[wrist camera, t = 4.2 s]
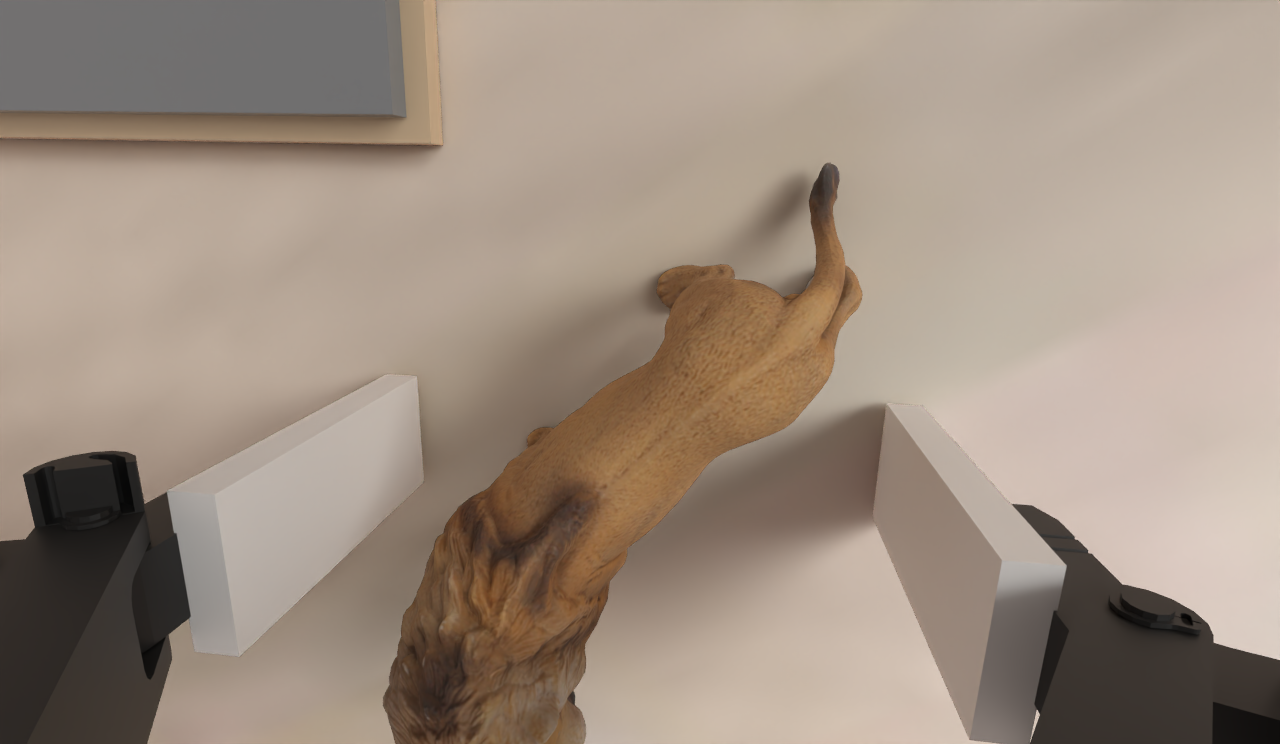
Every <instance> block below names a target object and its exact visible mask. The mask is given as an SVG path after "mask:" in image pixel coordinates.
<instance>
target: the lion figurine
mask: <svg viewBox="0 0 1280 744" xmlns="http://www.w3.org/2000/svg"><path fill="white" fill-rule="evenodd" d="M838 184H839V171H838V168H837V167H836V166H835V165H833V164H831V163H826V164H825V165H824V166H823V168H822V170H821V172H820V174H819V177H818V178H817V180H816V181H815V183H814V186H813V189H812V191H811V195H810V199H809V206H810V212H811V225H812V229H813V233H814V239H815V244H816V267H815V272H814V276H813V278H812V279H811V280H810V281H809V283H808V284H807V286H806V290H805V291H804V292H803V293H801V294H790V295H788V296H786V297H784V298H783V297H781V296H780V295H779V294H778V293H777V292H776V291H774V290H773V289H771V288H769V287H767V286H766V285H763V284H760V283H757V282H754V281H747V280H736V279H734V277H735V274H734V271H733V269H732V268H731V267H730V266H729V265H722V264H720V265H716V266H705V267H700V266H694V265H686V266H679V267H675V268H672V269H670V270H668V271H666V272H664V273H663V274H662V275H661V276H660V278H659V280H658V286H657V294H658V296H659V298H660V299H661V301H662V303H664V304H665V305H666V306H667V307H668V308H669V309H670V310H671V311H670V315H669V318H668V320H667V322H666V325H665V339H664V341H663V343H662V344H661V346H660V348H659V350H658V351H657V353H656V355H655V356H654V357H653V359H652V360H651V361H650V362H648V363H647V364H645V365H644V366H642V367H640V368H638V369H636V370H634V371H632V372H630V373H628V374H626V375H624V376H622V377H621V378H619V379H617V380H615V381H613V382H612V383H610V384H609V385H607V386H606V387H604V388H603V389H601V390H600V391H599V392H598V393H596V394H595V395H594V396H593V397H592V398H591V399H590V400H589V401H588V402H587V403H586V404H585V405H584V406H583V407H581V408H580V409H578V410H577V411H575V412H573V413H572V414H571V415H570V416H568V417H567V418H566V419H565V420H563V421H562V422H561V423H560V424H559V425H558V426H556V427H555V428H548V427H543V428H538V429H536V430H534V431H533V432H532V433H531V434H530V435H529V436H528V438H527V443H528V448H527V449H526V450H524V451H523V452H522V453H521V454H520V455H519V456H518V457H516V458H514V459H513V460H512V461H510V462H509V463H508V465H507V466H506V468H505V469H504V471H503V473H502V474H501V475H500V476H499V477H498V478H497V479H496V480H495V481H494V483H493V484H492V485H491V486H490V487H489V488H488V489H487V490H485V491H483V492H480V493H478V494H476V495H474V496H472V497H471V498H469V499H468V500H467V501H466V502H464V503H463V504H462V505H461V506H459V507H458V509H457V511H456V512H455V513H454V514H453V515H452V517H451V518H450V519H449V521H448V522H447V524H446V526H445V529H444V533H443V534H442V535H440V536H438V538H437V539H436V541H435V544H434V550H433V551H432V553H431V555H430V558H429V560H428V562H427V565H426V569H425V575H424V577H423V580H422V583H421V585H420V587H419V589H418V591H417V595H416V597H415V599H414V601H413V604H412V605H411V606H410V607H409V608H408V609H407V610H406V612H405V614H404V615H403V621H402V627H401V636H402V637H401V639H400V642H399V645H398V651H397V655H398V656H397V657H396V658H395V660H394V662H393V664H392V667H391V672H390V676H389V681H390V685H389V687H388V689H387V691H386V692H385V695H384V697H383V707H384V709H385V711H386V713H387V714H388V719H389V723H390V726H391V729H392V732H393V736H394V740H395V743H396V744H584V741H585V737H586V725H585V720H584V718H583V715H582V712H581V711H580V709H579V708H578V707H576V706H575V694H574V689H575V687H576V686H577V685H578V683H579V682H580V680H581V678H582V676H583V674H584V673H585V668H586V656H585V643H586V642H587V640H588V638H589V637H590V635H591V633H592V631H593V629H594V628H595V626H596V625H597V622H598V620H599V617H600V615H601V613H602V611H603V609H604V606H605V604H606V602H607V599H608V591H609V582H610V580H611V579H612V578H613V577H614V575H615V574H616V573H617V572H618V571H619V569H620V568H621V567H622V566H623V565H624V563H625V561H626V557H627V548H628V547H629V546H631V545H632V544H633V543H635V542H636V541H637V540H639V539H640V538H641V537H643V536H644V535H645V534H646V533H648V532H649V531H650V530H651V529H652V528H653V527H655V526H656V525H657V524H658V523H659V522H660V521H661V520H662V519H663V518H664V517H665V516H666V514H667V513H668V512H669V511H670V510H671V509H672V508H673V507H674V506H675V505H676V504H677V503H678V502H679V500H680V499H681V498H682V497H683V495H684V494H685V493H686V492H687V490H688V489H689V488H690V487H691V485H692V484H693V483H694V481H695V480H696V479H697V478H698V476H699V475H700V474H701V472H702V471H703V469H704V468H705V467H706V466H707V465H708V464H709V463H710V462H711V461H712V460H713V459H714V458H716V457H717V456H719V455H721V454H722V453H725V452H727V451H729V450H731V449H734V448H737V447H739V446H742V445H745V444H747V443H750V442H753V441H756V440H758V439H761V438H764V437H766V436H769V435H771V434H774V433H776V432H778V431H780V430H782V429H784V428H786V427H787V426H788V425H790V424H791V423H792V422H793V421H794V420H795V419H796V418H797V417H798V416H799V415H800V413H801V412H802V411H803V410H804V409H805V408H806V406H807V405H808V404H809V403H810V402H811V401H812V400H813V398H814V397H815V396H816V395H817V394H818V392H819V391H820V390H821V389H822V387H823V386H824V384H825V383H826V382H827V380H828V378H829V376H830V374H831V372H832V368H833V364H834V349H835V345H836V341H837V337H838V333H839V331H840V329H841V327H842V326H843V325H844V323H845V322H846V320H847V319H848V318H849V316H851V315H852V314H853V313H854V312H855V311H856V310H857V309H858V307H859V305H860V302H861V300H862V290H861V288H860V285H859V282H858V279H857V277H856V275H855V274H854V272H853V271H852V270H851V269H850V268H849V267H847V266H846V265H845V260H844V252H843V249H842V247H841V244H840V242H839V240H838V237H837V233H836V229H835V224H834V218H833V205H834V203H835V201H836V199H837V188H838Z"/></svg>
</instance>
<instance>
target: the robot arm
mask: <svg viewBox="0 0 1280 744" xmlns="http://www.w3.org/2000/svg"><path fill="white" fill-rule="evenodd" d="M23 477H24V482H25V486H26V490H27V494H28V499H29V503H30V507H31V512H32V516H33V520H34V525H35V528H34V529H33V531H32V532H31V533H30V534H29V536H28V537H27V538H26V539H25V540H11V541H0V744H147V742H148V739H149V735H150V732H151V728H152V725H153V722H154V718H155V715H156V711H157V708H158V705H159V701H160V698H161V694H162V691H163V688H164V684H165V681H166V678H167V674H168V671H169V667H170V664H171V661H172V653H171V646H170V641H169V635H168V634H169V633H171V632H172V631H173V630H175V629H176V628H177V627H178V626H180V625H181V624H182V623H183V622H185V621H186V620H187V619H189V622H190V628H191V634H192V640H193V645H194V651H195V652H200V653H209V654H218V655H227V656H235V657H240V656H241V655H242V654H243V653H244V652H245V651H246V650H247V649H248V648H249V647H251V646H252V645H253V644H254V643H255V642H256V641H257V640H258V639H259V638H260V637H261V636H262V635H263V634H264V633H265V632H266V631H267V630H268V629H270V628H271V627H272V626H273V625H274V624H275V623H276V622H277V621H278V620H279V619H280V618H281V617H282V616H283V615H284V614H285V613H286V612H287V611H288V610H290V609H291V608H292V607H293V606H294V605H295V604H296V603H297V602H298V601H299V600H300V599H301V598H302V597H303V596H304V595H305V594H306V593H307V592H309V591H310V590H311V589H312V588H313V587H314V586H315V585H316V584H317V583H318V582H319V581H320V580H321V579H322V578H323V577H324V576H325V575H326V574H328V573H329V572H330V571H331V570H332V569H333V568H334V567H335V566H336V565H337V564H338V563H339V562H340V561H341V560H342V559H343V558H344V557H345V556H347V555H348V554H349V553H350V552H351V551H352V550H353V549H354V548H355V547H356V546H357V545H358V544H359V543H360V542H361V541H362V540H363V539H364V538H366V537H367V536H368V535H369V534H370V533H371V532H372V531H373V530H374V529H375V528H376V527H377V526H378V525H379V524H380V523H381V522H382V521H383V520H384V519H386V518H387V517H388V516H389V515H390V514H391V513H392V512H393V511H394V510H395V509H396V508H397V507H398V506H399V505H400V504H401V503H402V502H403V501H405V500H406V499H407V498H408V497H409V496H410V495H411V494H412V493H413V492H414V491H415V490H416V489H417V488H418V487H419V486H420V485H421V484H422V483H424V474H423V458H422V443H421V428H420V412H419V397H418V382H417V376H413V375H396V374H386V375H384V376H382V377H380V378H378V379H376V380H375V381H373V382H371V383H369V384H367V385H365V386H363V387H361V388H359V389H358V390H356V391H354V392H352V393H350V394H348V395H346V396H344V397H342V398H341V399H339V400H337V401H335V402H333V403H331V404H329V405H327V406H326V407H324V408H322V409H320V410H318V411H316V412H314V413H312V414H310V415H309V416H307V417H305V418H303V419H301V420H299V421H297V422H295V423H293V424H292V425H290V426H288V427H286V428H284V429H282V430H280V431H278V432H276V433H275V434H273V435H271V436H269V437H267V438H265V439H263V440H261V441H260V442H258V443H256V444H254V445H252V446H250V447H248V448H246V449H244V450H243V451H241V452H239V453H237V454H235V455H233V456H231V457H229V458H227V459H226V460H224V461H222V462H220V463H218V464H216V465H214V466H212V467H211V468H209V469H207V470H205V471H203V472H201V473H199V474H197V475H195V476H194V477H192V478H190V479H188V480H186V481H184V482H182V483H180V484H178V485H177V486H175V487H173V488H171V489H169V490H167V492H166V493H165V494H163V495H161V496H159V497H157V498H155V499H153V500H151V501H150V502H148V503H146V504H144V499H143V494H142V488H141V483H140V477H139V472H138V466H137V461H136V456H135V455H132V454H130V453H128V452H118V451H105V452H91V453H85V454H79V455H73V456H69V457H65V458H61V459H57V460H53V461H50V462H47V463H45V464H42V465H40V466H37V467H34V468H33V469H31V470H30V471H28V472H26V473H25V474H23ZM873 519H874V522H875V524H876V526H877V528H878V531H879V533H880V535H881V538H882V540H883V542H884V544H885V547H886V549H887V551H888V554H889V556H890V558H891V561H892V563H893V565H894V567H895V570H896V572H897V574H898V577H899V579H900V581H901V584H902V586H903V588H904V590H905V593H906V595H907V597H908V600H909V602H910V604H911V607H912V609H913V611H914V613H915V616H916V618H917V620H918V623H919V625H920V627H921V630H922V632H923V634H924V636H925V639H926V641H927V643H928V646H929V648H930V650H931V652H932V655H933V657H934V659H935V662H936V664H937V666H938V669H939V671H940V673H941V675H942V678H943V680H944V682H945V685H946V687H947V689H948V692H949V694H950V696H951V698H952V701H953V703H954V705H955V708H956V710H957V712H958V715H959V717H960V719H961V721H962V724H963V726H964V728H965V731H966V733H967V735H968V737H969V740H974V741H983V742H992V743H1000V744H1029V743H1030V744H1280V660H1277V659H1273V658H1269V657H1265V656H1261V655H1257V654H1253V653H1249V652H1245V651H1241V650H1237V649H1233V648H1229V647H1226V646H1222V645H1219V644H1216V643H1213V634H1212V631H1211V629H1210V627H1209V625H1208V623H1206V622H1205V621H1204V620H1203V619H1202V618H1201V617H1200V616H1198V615H1197V614H1196V613H1195V612H1194V611H1192V610H1190V609H1189V608H1187V607H1185V606H1183V605H1181V604H1180V603H1178V602H1176V601H1174V600H1172V599H1170V598H1167V597H1164V596H1162V595H1159V594H1157V593H1154V592H1151V591H1149V590H1145V589H1140V588H1136V587H1132V586H1128V585H1122V584H1121V583H1120V582H1119V581H1118V580H1117V579H1116V578H1115V577H1114V576H1113V575H1112V574H1111V573H1110V572H1109V571H1108V570H1107V569H1106V568H1105V567H1104V566H1103V565H1102V564H1101V563H1100V562H1099V561H1098V560H1097V559H1096V558H1095V557H1094V556H1093V555H1092V554H1089V553H1088V550H1087V549H1086V548H1085V547H1084V546H1083V545H1082V544H1081V543H1080V542H1079V541H1078V540H1075V537H1074V536H1073V535H1072V534H1071V533H1070V532H1069V531H1068V530H1067V529H1066V528H1065V527H1064V526H1063V525H1062V524H1061V523H1060V522H1059V521H1058V520H1057V519H1055V518H1053V517H1051V516H1050V515H1048V514H1046V513H1044V512H1042V511H1041V510H1039V509H1037V508H1035V507H1034V506H1031V505H1017V504H1011V503H1010V502H1009V501H1008V500H1007V499H1006V498H1005V497H1004V495H1003V494H1002V493H1001V492H1000V491H999V490H998V489H997V488H996V486H995V485H994V484H993V483H992V482H991V481H990V480H989V479H988V478H987V476H986V475H985V474H984V473H983V472H982V471H981V470H980V469H979V468H978V466H977V465H976V464H975V463H974V462H973V461H972V460H971V459H970V458H969V456H968V455H967V454H966V453H965V452H964V451H963V450H962V449H961V447H960V446H959V445H958V444H957V443H956V442H955V441H954V440H953V439H952V437H951V436H950V435H949V434H948V433H947V432H946V431H945V430H944V429H943V427H942V426H941V425H940V424H939V423H938V422H937V421H936V420H935V419H934V417H933V416H932V415H931V414H930V413H929V412H928V411H927V410H926V409H925V407H924V406H923V405H908V404H891V403H887V404H886V412H885V420H884V428H883V436H882V444H881V452H880V460H879V468H878V476H877V485H876V493H875V501H874V509H873ZM1036 710H1038V712H1039V713H1040V716H1039V719H1038V722H1037V725H1036V728H1035V731H1034V733H1033V736H1032V739H1031V734H1032V729H1033V724H1034V720H1035V715H1036ZM1030 739H1031V742H1030Z"/></svg>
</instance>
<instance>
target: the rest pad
mask: <svg viewBox="0 0 1280 744" xmlns="http://www.w3.org/2000/svg"><path fill="white" fill-rule="evenodd" d="M0 138H23V139H84V140H146V141H207V142H269V143H330V144H392V145H443V137H442V117H441V97H440V78H439V58H438V38H437V19H436V0H0Z"/></svg>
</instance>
